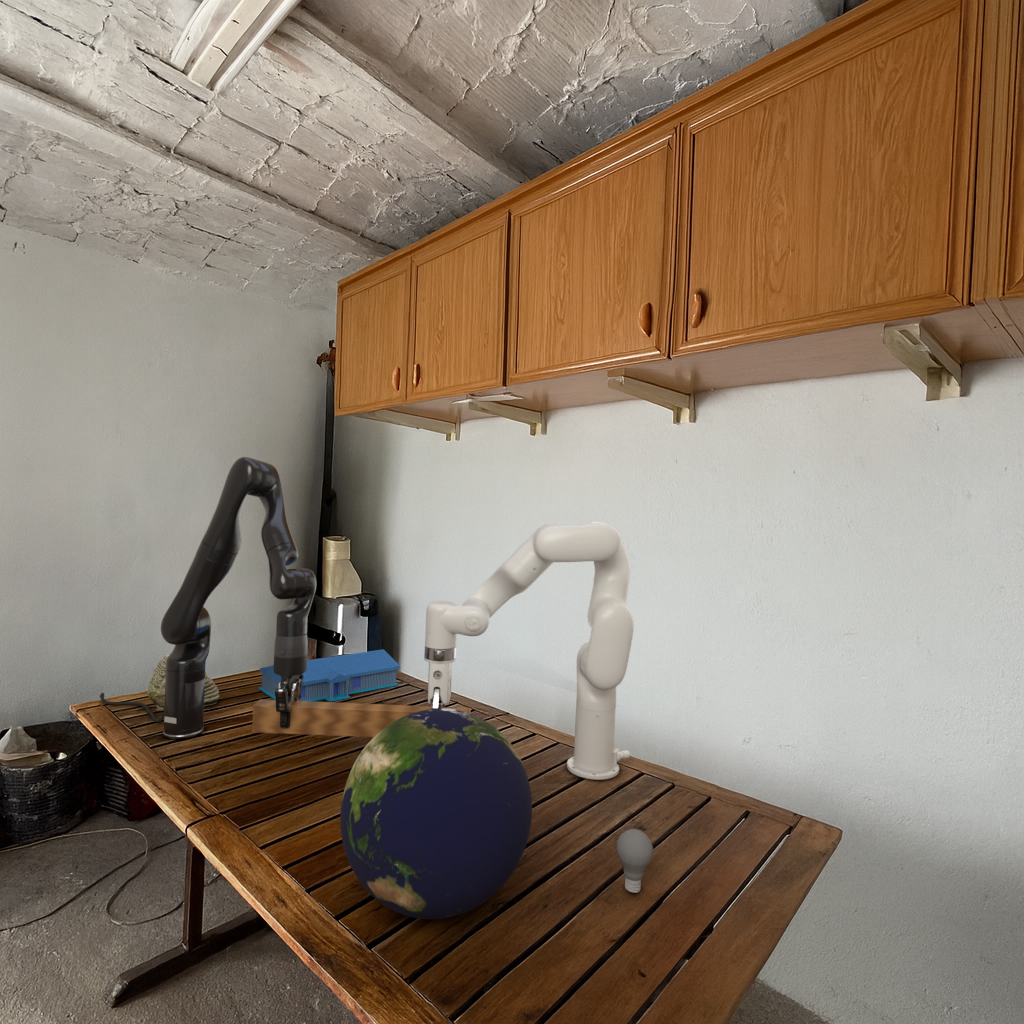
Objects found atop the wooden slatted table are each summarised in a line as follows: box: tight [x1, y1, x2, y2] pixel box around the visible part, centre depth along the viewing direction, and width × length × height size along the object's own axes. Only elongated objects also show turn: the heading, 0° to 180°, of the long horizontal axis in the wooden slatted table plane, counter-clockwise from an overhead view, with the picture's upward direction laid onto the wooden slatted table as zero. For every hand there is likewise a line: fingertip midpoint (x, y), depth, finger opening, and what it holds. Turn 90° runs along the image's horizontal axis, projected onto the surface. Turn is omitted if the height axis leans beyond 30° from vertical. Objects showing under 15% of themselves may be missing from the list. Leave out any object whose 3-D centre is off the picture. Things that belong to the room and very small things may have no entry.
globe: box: [339, 708, 533, 920], centre depth 100 cm, size 30×30×30 cm
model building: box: [258, 649, 401, 702], centre depth 208 cm, size 39×24×10 cm, turn 132°
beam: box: [251, 699, 472, 738], centre depth 152 cm, size 51×4×6 cm, turn 91°
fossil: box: [147, 654, 221, 712], centre depth 185 cm, size 9×18×15 cm, turn 132°
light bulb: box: [615, 828, 654, 894], centre depth 106 cm, size 6×6×10 cm
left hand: (288, 723), depth 151 cm, fingers closed on beam, 4 cm apart
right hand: (436, 728), depth 152 cm, fingers closed on beam, 4 cm apart
